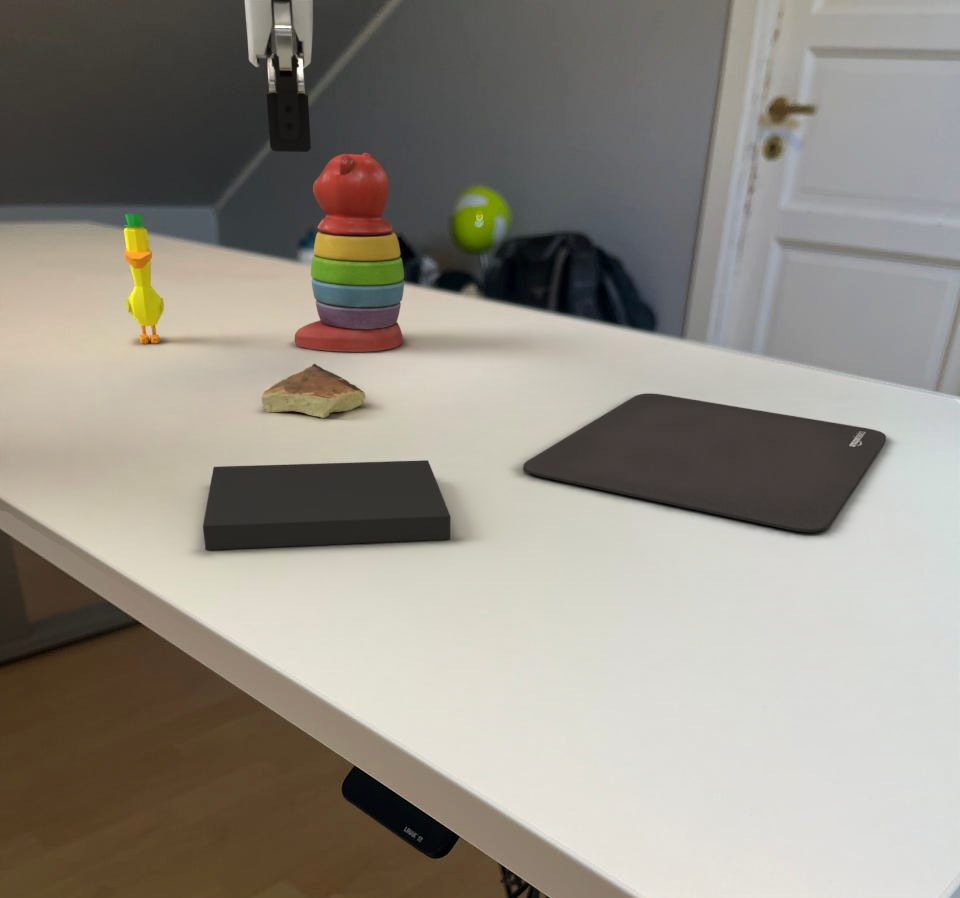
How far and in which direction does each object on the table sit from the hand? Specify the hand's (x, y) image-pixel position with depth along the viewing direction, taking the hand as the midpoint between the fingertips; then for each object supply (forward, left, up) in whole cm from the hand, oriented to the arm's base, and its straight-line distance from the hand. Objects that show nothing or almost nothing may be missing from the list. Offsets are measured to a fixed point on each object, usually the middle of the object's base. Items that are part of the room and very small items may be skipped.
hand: (290, 147), depth 82 cm
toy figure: (-15, +12, -19) cm, 27 cm away
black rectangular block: (+1, -36, -19) cm, 41 cm away
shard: (0, -11, -19) cm, 22 cm away
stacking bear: (+6, +11, -19) cm, 22 cm away
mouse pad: (+30, -28, -19) cm, 45 cm away
